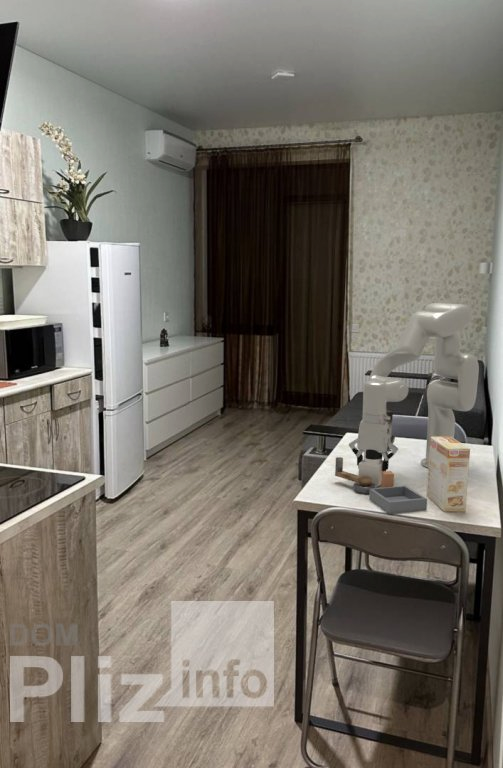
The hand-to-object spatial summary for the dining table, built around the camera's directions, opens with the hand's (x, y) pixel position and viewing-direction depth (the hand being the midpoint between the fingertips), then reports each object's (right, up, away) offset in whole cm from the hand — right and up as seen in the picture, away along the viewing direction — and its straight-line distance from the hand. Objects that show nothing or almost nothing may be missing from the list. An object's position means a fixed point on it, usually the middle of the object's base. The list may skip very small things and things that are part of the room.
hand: (372, 469), depth 216 cm
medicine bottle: (0, -5, +1) cm, 5 cm away
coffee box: (+10, +2, +43) cm, 45 cm away
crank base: (-4, -6, -6) cm, 10 cm away
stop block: (+3, -7, -8) cm, 11 cm away
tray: (+4, -8, -18) cm, 21 cm away
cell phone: (+17, +4, +61) cm, 64 cm away
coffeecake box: (+19, -9, -16) cm, 27 cm away
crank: (-7, -3, -3) cm, 8 cm away
